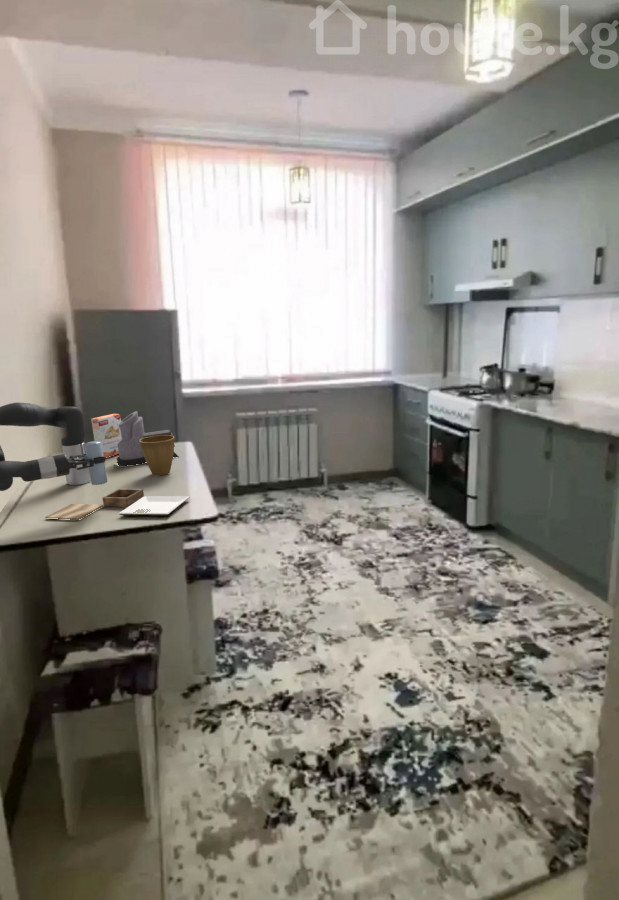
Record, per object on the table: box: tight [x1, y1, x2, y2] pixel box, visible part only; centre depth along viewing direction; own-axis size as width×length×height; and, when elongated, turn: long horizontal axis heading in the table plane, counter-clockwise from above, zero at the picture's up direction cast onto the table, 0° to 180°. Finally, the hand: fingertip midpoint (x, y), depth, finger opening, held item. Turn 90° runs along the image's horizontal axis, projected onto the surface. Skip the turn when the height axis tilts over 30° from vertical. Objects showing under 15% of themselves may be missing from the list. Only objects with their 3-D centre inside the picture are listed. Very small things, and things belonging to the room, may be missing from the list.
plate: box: [118, 495, 190, 517], centre depth 205 cm, size 19×19×2 cm
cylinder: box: [85, 440, 108, 486], centre depth 207 cm, size 6×6×15 cm
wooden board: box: [44, 503, 104, 520], centre depth 207 cm, size 14×14×1 cm
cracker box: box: [90, 413, 122, 459], centre depth 292 cm, size 14×6×21 cm, turn 148°
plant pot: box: [139, 435, 175, 476], centre depth 251 cm, size 15×15×16 cm
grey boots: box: [116, 410, 179, 467], centre depth 278 cm, size 30×16×24 cm, turn 113°
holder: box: [102, 488, 145, 508], centre depth 215 cm, size 11×11×4 cm
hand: (102, 457), depth 208 cm, fingers closed on cylinder, 5 cm apart
